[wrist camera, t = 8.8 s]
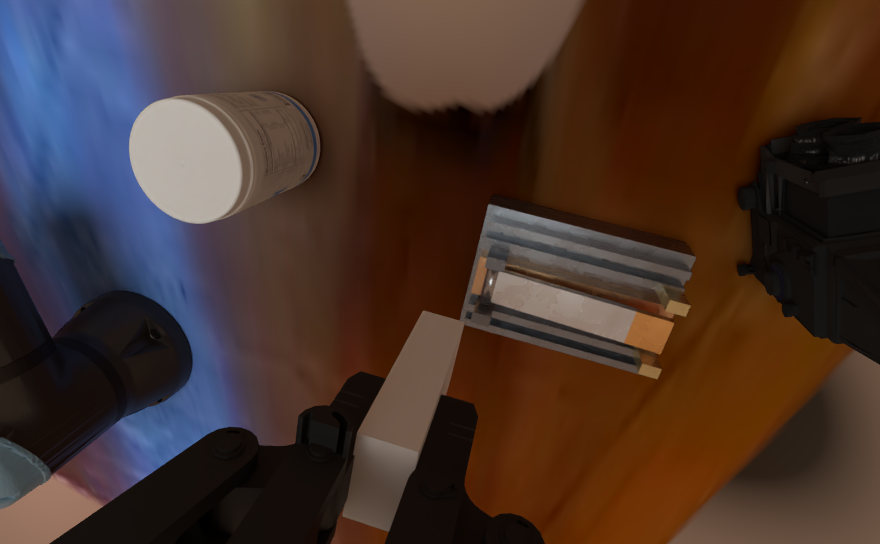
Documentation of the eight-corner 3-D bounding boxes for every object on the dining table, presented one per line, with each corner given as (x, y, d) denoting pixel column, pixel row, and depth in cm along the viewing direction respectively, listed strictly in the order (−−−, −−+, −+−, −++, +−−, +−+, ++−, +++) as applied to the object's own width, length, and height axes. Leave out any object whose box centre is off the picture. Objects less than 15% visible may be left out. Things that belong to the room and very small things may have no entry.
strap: (480, 297, 46) (477, 302, 44) (490, 260, 44) (487, 265, 43) (657, 351, 43) (659, 358, 42) (674, 314, 41) (676, 320, 40)
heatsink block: (465, 303, 53) (450, 346, 45) (493, 194, 48) (481, 219, 40) (638, 351, 51) (654, 405, 43) (685, 242, 46) (713, 279, 38)
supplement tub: (259, 198, 54) (161, 240, 40) (220, 108, 51) (101, 121, 38) (339, 172, 51) (262, 208, 37) (302, 75, 48) (205, 77, 35)
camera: (866, 102, 40) (1134, 129, 21) (863, 262, 44) (1084, 399, 26) (725, 131, 42) (856, 177, 24) (735, 280, 47) (852, 415, 28)
